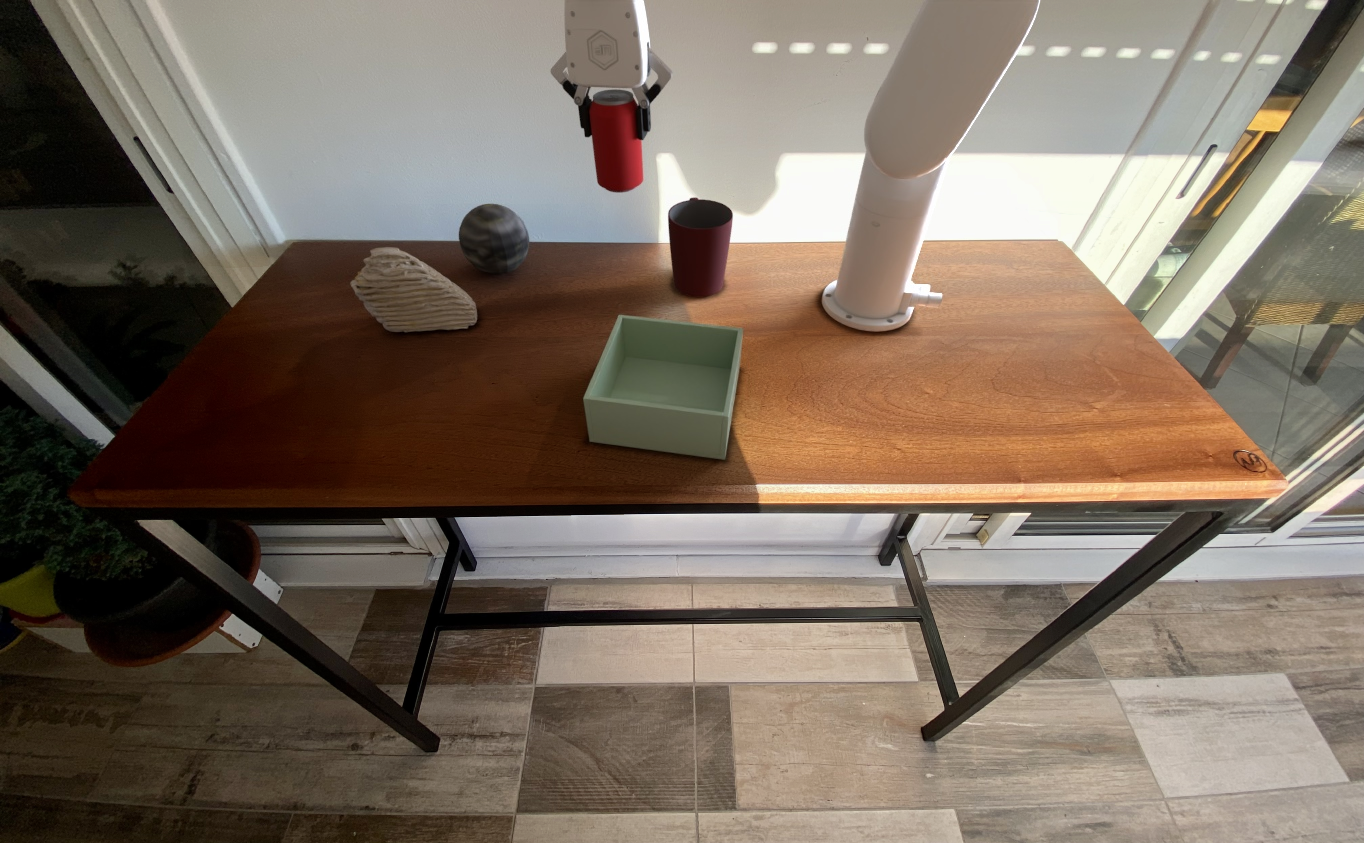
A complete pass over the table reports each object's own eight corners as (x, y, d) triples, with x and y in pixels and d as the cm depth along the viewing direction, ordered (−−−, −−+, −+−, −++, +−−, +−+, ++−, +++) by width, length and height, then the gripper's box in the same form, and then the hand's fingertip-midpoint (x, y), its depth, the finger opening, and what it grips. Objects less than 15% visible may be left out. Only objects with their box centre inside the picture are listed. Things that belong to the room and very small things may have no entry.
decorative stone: (524, 289, 88) (511, 225, 81) (458, 285, 88) (439, 221, 81) (541, 254, 95) (530, 193, 88) (480, 251, 96) (464, 190, 88)
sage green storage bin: (739, 370, 75) (743, 328, 70) (724, 459, 65) (728, 416, 60) (622, 356, 77) (618, 314, 72) (589, 441, 66) (582, 398, 62)
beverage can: (647, 176, 89) (642, 88, 81) (640, 196, 84) (634, 104, 76) (602, 175, 90) (593, 87, 81) (593, 194, 85) (582, 103, 76)
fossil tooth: (476, 340, 81) (359, 337, 79) (482, 311, 85) (371, 308, 83) (462, 267, 73) (330, 262, 71) (469, 240, 77) (345, 234, 75)
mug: (663, 259, 94) (662, 191, 86) (719, 256, 95) (722, 188, 87) (672, 302, 86) (671, 231, 78) (732, 298, 87) (738, 227, 79)
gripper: (520, -21, 68) (547, 142, 80) (669, -18, 66) (673, 149, 78) (542, -32, 73) (564, 123, 86) (681, -30, 71) (683, 129, 83)
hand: (616, 134), depth 82 cm, fingers closed on beverage can, 6 cm apart
